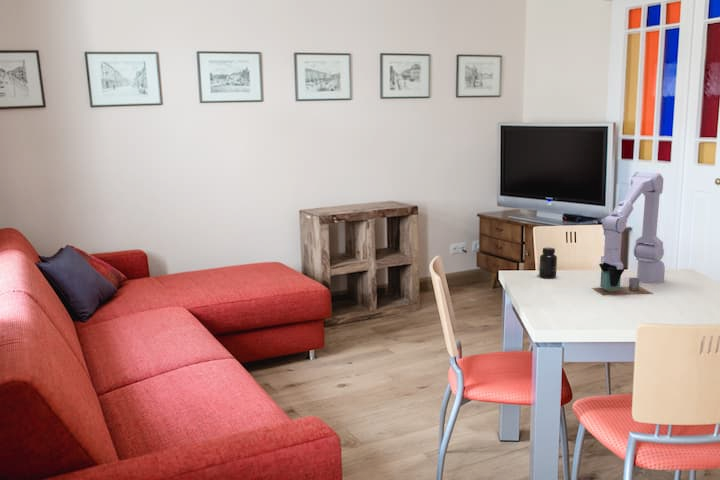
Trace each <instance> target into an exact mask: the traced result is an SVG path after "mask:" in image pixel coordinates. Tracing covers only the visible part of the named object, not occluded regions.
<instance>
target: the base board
mask: <svg viewBox="0 0 720 480" xmlns="http://www.w3.org/2000/svg"><path fill="white" fill-rule="evenodd" d="M591 289H592V290H594V291H596V292H597V293H599V294H600V295H602V296H625V295H626V296H630V295H632V296H633V295H636V296H637V295H654V292H651V291H649V290H648V289H645V288H644V287H642V286H640V285H639V291H630V290H629V286H620V290H615V292H607V291H606V290H605V289H604V288H602V287H591Z"/></svg>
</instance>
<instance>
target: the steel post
mask: <svg viewBox="0 0 720 480" xmlns="http://www.w3.org/2000/svg"><path fill="white" fill-rule="evenodd" d="M628 280H629V281H628V287H629V290H630V291H639V286H640V282H639V279H638V278H637V277H629V279H628Z"/></svg>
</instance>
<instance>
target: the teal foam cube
mask: <svg viewBox="0 0 720 480" xmlns="http://www.w3.org/2000/svg"><path fill="white" fill-rule="evenodd" d="M621 276H622V275H621ZM621 276H620V279H619V282H618V285H617V286H611V284H610V274H609V271H602V270H601V271H600V287H599V288H604V289H605V290H620V287H621V281H622V279H621Z"/></svg>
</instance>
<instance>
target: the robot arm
mask: <svg viewBox="0 0 720 480" xmlns="http://www.w3.org/2000/svg"><path fill="white" fill-rule="evenodd" d="M663 188H664V178H663V175H662V174H661V173H659V172H657V173H656V172H655V173H653V172H640V171H636V172H634V173H633V175H632V176H631V178H630V188H629V189H628V191H627V193H626V195H625V197H624V199H623V200H619V201H618V203H617V204H616V206H615V207H614V209H613V210H612V212H611V213H610V215H607V216H605V217H604V218H603V220H602V223H601V227H602V230H603V235H604V247H603V249H604V250H603V255H602V256H600V262H601V263H599V265H598V266H599V267H600V269H601V271H609V274H610V284H611V286H617V285H618V282H619V279H620V276H622V275H623V273H624V272H625V267H624V264H623V263H622V260H621V254H622V253H621V252H622V251H621V250H622V239H623V237H622V236H623V232H624V231H625V229H626V226H627V223H628V218H629V217H630V215H631V213H632V212H633V211H634V206H633V205H635V202H636V201H637V200H638V198H639V197H640V196H641V195H642V194H643V196H644V203H643V220H642V232H641V236H640V237H638V238H636V239H635V243H634V244H635V245H634V247H633V251H632V253H633V255H634V257H635V258H636V259H635V260H636V261H637V269H636V271H637V273H636V278H638V279H639V283H645V284H653V283H656V284H657V283H664V282H665V271H666V270H665V268H666V267H665V263H664V262H663V261H662V259H663V257H664V254H665V250H664V242H663V240H661V239H660V238H659V237H658V236H657V233H658V232H657V230H658V218H659V207H660V195H661V194H663Z"/></svg>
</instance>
